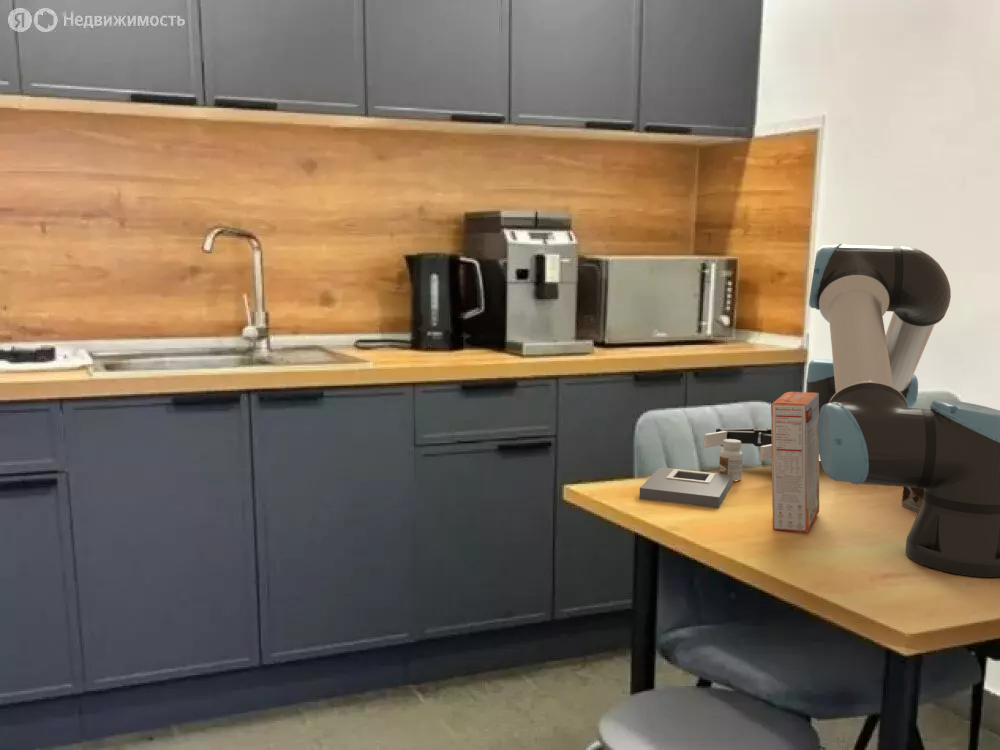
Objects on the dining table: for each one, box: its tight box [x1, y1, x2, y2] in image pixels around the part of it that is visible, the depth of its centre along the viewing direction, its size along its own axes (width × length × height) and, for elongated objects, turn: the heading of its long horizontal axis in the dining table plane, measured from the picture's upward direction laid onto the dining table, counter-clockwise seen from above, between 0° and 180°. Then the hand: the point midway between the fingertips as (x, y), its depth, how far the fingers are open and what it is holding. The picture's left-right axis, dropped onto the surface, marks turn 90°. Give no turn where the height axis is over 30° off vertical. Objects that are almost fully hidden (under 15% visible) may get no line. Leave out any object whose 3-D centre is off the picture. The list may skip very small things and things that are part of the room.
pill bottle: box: [718, 439, 744, 482], centre depth 185 cm, size 4×4×8 cm
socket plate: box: [638, 466, 733, 509], centre depth 175 cm, size 18×14×2 cm
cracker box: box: [770, 391, 820, 533], centre depth 155 cm, size 14×6×21 cm, turn 154°
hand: (732, 447), depth 186 cm, fingers open, 13 cm apart
